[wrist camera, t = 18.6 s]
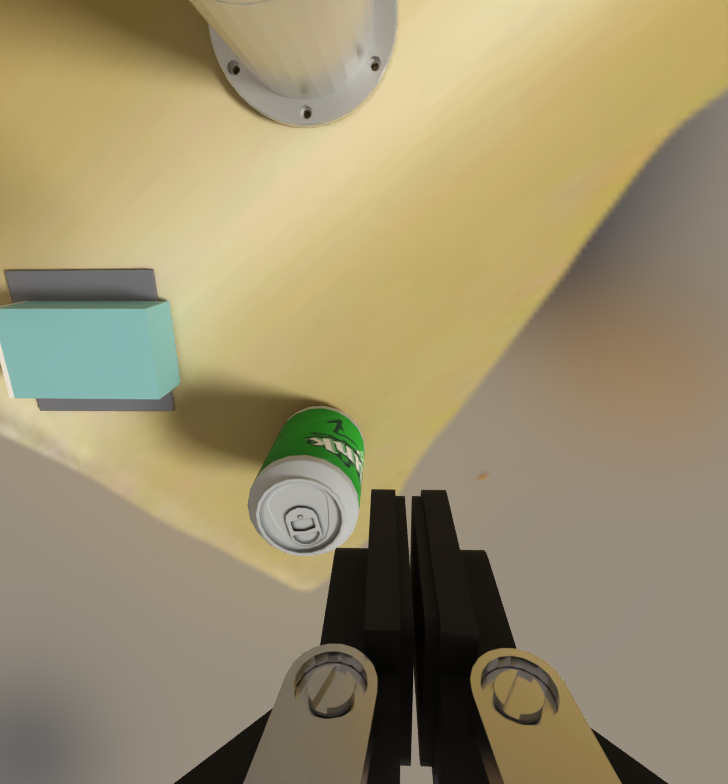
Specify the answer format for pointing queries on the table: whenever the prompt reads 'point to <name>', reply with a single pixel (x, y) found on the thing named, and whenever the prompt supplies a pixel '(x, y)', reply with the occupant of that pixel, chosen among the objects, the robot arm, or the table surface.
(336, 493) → the soda can
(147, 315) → the teal block
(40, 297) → the rubber mat
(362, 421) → the table surface
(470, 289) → the table surface
